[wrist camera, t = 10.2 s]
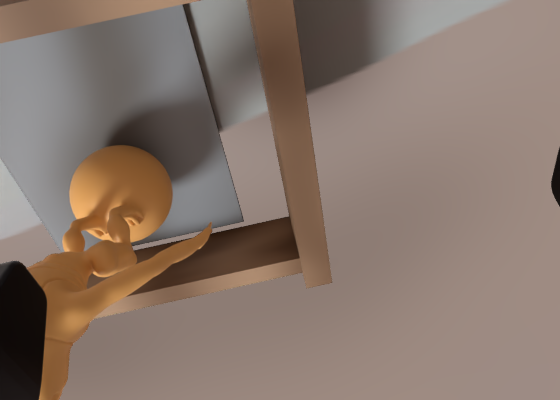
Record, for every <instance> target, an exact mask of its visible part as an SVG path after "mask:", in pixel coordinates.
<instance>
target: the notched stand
mask: <svg viewBox="0 0 560 400" xmlns="http://www.w3.org/2000/svg"><path fill="white" fill-rule="evenodd" d="M196 1H201V0H0V158H1V160H2V161H3V163H4V164H5V166H6V167H7V169H8V171H9V172H10V174H11V175H12V177H13V178H14V180H15V181H16V183H17V184H18V186H19V187H20V189H21V191H22V192H23V194H24V195H25V197H26V198H27V200H28V201H29V203H30V204H31V206H32V208H33V209H34V211H35V212H36V214H37V215H38V217H39V218H40V220H41V221H42V223H43V225H44V226H45V227H46V229H47V230H48V232H49V234H50V235H51V237H52V238H53V240H54V241H55V243H56V244H57V246H58V248H59V249H60V251H61V252H65V251H64V248H63V243H62V240H63V236H64V234H65V233H66V232H67V231H68V230H69V229H70V225H71V223H72V222H73V221H74V220H77V219H76V217H75V215H74V213H73V211H72V208H71V204H70V197H69V191H70V184H71V180H72V177H73V175H74V173H75V171H76V169H77V168H78V166H79V165H80V164H81V163H82V161H83V160H84V159H86V158H87V157H88V156H89V155H91V154H92V153H94V152H95V151H97V150H100V149H102V148H105V147H109V146H115V145H127V146H133V147H137V148H140V149H142V150H144V151H146V152H148V153H150V154H151V155H153V156H154V157H155V158H156V159H157V160H158V161H159V162H160V163H161V164H162V165H163V166H164V168H165V169H166V171H167V173H168V175H169V177H170V180H171V184H172V190H173V199H172V205H171V209H170V212H169V214H168V216H167V218H166V219H165V221H164V222H163V224H162V225H161V226H160V227H159V228H158V229H157V230H156V231H155V232H154V233H152V234H151V235H149V236H148V237H146V238H144V239H141V240H139V241H135V242H131V245H132V246H135V245H140V244H144V243H149V242H153V241H158V240H162V239H166V238H171V237H176V236H180V235H185V234H189V233H194V232H198V231H203V230H204V229H205V228H206V227H208V225H209V223H210V222H212V226H211V229H212V228H217V227H221V226H225V225H230V224H234V223H239V222H243V221H244V220H243V216H242V213H241V209H240V205H239V202H238V198H237V195H236V191H235V188H234V184H233V180H232V177H231V174H230V170H229V166H228V163H227V159H226V156H225V152H224V149H223V145H222V142H221V139H220V134H219V131H218V127H217V124H216V120H215V117H214V113H213V110H212V106H211V103H210V99H209V95H208V92H207V88H206V85H205V81H204V78H203V74H202V71H201V67H200V64H199V60H198V57H197V53H196V49H195V46H194V42H193V39H192V35H191V32H190V28H189V25H188V21H187V18H186V14H185V10H184V7H183V4H187V3H191V2H196ZM247 5H248V10H249V15H250V20H251V25H252V30H253V35H254V40H255V45H256V50H257V56H258V61H259V66H260V71H261V76H262V81H263V86H264V91H265V96H266V101H267V106H268V111H269V116H270V121H271V126H272V131H273V136H274V141H275V146H276V151H277V156H278V161H279V166H280V171H281V176H282V181H283V186H284V191H285V196H286V201H287V206H288V211H289V217H284V218H280V219H275V220H271V221H266V222H262V223H257V224H253V225H248V226H244V227H239V228H235V229H230V230H226V231H221V232H216V233H212V234H210V236H209V238H208V241H207V242H206V243H205V244H204V245H203V246H202V247H201V249H197V250H196V251H195V252H194V253H193V254H192V255H190V256H189V257H187V258H185V259H183V260H181V261H179V262H176V263H173V264H171V265H170V266H169V267H168V268H167V269H166V270H164V271H163V272H162V273H160V274H159V275H157V276H155V277H153V278H152V279H151V280H149V281H148V282H147V283H145V284H144V285H142V286H141V287H140V288H138V289H137V290H135V291H134V292H132V293H131V294H129V295H128V296H126V297H124V298H123V299H121V300H119V301H117V302H115V303H113V304H112V305H110V306H108V307H107V308H106V309H104V310H103V311H102V312H101V313H99V314H98V315H97V316H96V317H95V318H94V319H96V318H100V317H105V316H109V315H114V314H118V313H123V312H127V311H132V310H136V309H140V308H145V307H150V306H154V305H158V304H163V303H168V302H172V301H176V300H181V299H186V298H190V297H195V296H199V295H204V294H208V293H213V292H217V291H222V290H226V289H230V288H235V287H240V286H244V285H249V284H253V283H257V282H262V281H267V280H271V279H276V278H280V277H284V276H289V275H294V274H298V273H303V276H304V280H305V284H306V288H311V287H315V286H320V285H324V284H329V283H332V278H331V271H330V264H329V256H328V249H327V242H326V235H325V228H324V221H323V213H322V206H321V199H320V192H319V185H318V177H317V170H316V163H315V155H314V148H313V142H312V135H311V127H310V119H309V113H308V105H307V98H306V91H305V83H304V76H303V69H302V62H301V55H300V47H299V40H298V33H297V26H296V19H295V11H294V4H293V0H247ZM81 233H82V235H83V237H84V239H85V247H84V251H86V250H88V248H90V247H91V246H93V245H95V244H96V243H98V242H100V241H102V240H101V239H99V238H97V237H95V236H93V235H92V234H90V233H89V232H88V231H86V230H83V231H81ZM189 239H191V238H189ZM185 240H188V239H185ZM185 240H181V241H176V242H171V243H167V244H162V245H158V246H153V247H149V248H144V249H139V250H135V251H134V253H135V254H136V256H137V262H136V264H138V263H140V262H143V261H146V260H148V259H150V258H152V257H154V256H155V255H156V254H158V253H159V252H161V251H163V250H165V249H167V248H169V247H171V246H173V245H175V244H177V243H180V242H182V241H185ZM136 264H135V265H136ZM120 272H121V271H120ZM118 273H119V272H118ZM116 274H117V273H116ZM114 275H115V274H114ZM112 276H113V275H112ZM109 277H111V276H109ZM109 277H98V276H96V275H94V274H93V273H92V274H91V275H90V276H89V278H88V282H87V289H89V288H91V287H93V286H95V285H96V284H98V283H100V282H102V281H103V280H105V279H107V278H109Z"/></svg>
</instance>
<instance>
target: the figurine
mask: <svg viewBox="0 0 560 400" xmlns="http://www.w3.org/2000/svg"><path fill="white" fill-rule="evenodd" d="M69 197H70V204H71V208H72V211H73V213H74V215H75V217H76V219H77V220H74V221H73V222H72V223H71V225H70V229H69V230H68V231H67V232H66V233H65V234H64V236H63V240H62V243H63V248H64V251H65V252H62V253H60V254H51V255H49V256H47V257H46V258H45V259H44V260H43V261H40V262H38V263H36V264H34V265H33V266H30V267H27V269H28V271H29V272H30V273H31V275H32V276H33V277H34V278H35V280H36V281H37V282H38V284H39V285H40V286H41V287H42V289H43V290H44V292H45V294H46V297H47V318H46V331H45V345H44V358H43V372H42V382H41V390H40V396H39V400H59V398H60V396H61V393H62V389H63V387H64V386H65V384H66V382H67V379H68V367H69V353H70V349H71V347H72V345H73V343H74V342H76V341H77V340H78V339H79V338H80V337H81V336H82V335H83V334H84V333H85V332H86V330H87V328H88V326H89V323H90V321H92V320H93V319H94V318H95V317H96V316H97V315H98V314H99V313H101V312H102V311H103V310H104V309H106V308H107V307H108V306H110V305H112V304H113V303H115V302H117V301H119V300H121V299H123V298H124V297H126V296H128V295H129V294H131V293H132V292H134V291H135V290H137V289H138V288H140V287H141V286H142V285H144V284H145V283H147V282H148V281H149V280H151V279H152V278H153V277H155V276H157V275H159V274H160V273H162V272H163V271H164V270H166V269H167V268H168V267H169V266H170V265H171V264H173V263H176V262H179V261H181V260H183V259H185V258H187V257H189V256H190V255H192V254H193V253H194V252H195V251H196V250H197V249H201V247H202V246H203V245H204V244H205V243H206V242H207V241H208V238H209V236H210V234H211V233H212V229H211V226H212V222H210V223H209V225H208V227H206V228H205V229H204V230H203V231H202V232H201V233H200V234H198V235H197V236H195V237H194V238H191V239H188V240H185V241H182V242H180V243H177V244H175V245H173V246H171V247H169V248H167V249H165V250H163V251H161V252H159V253H158V254H156V255H155V256H154V257H152V258H150V259H148V260H146V261H143V262H140V263H138V264H136V262H137V256H136V254H135V253H134V251H133V248H132V245H131V242H135V241H139V240H141V239H144V238H146V237H148V236H149V235H151V234H152V233H154V232H155V231H156V230H157V229H158V228H159V227H160V226H161V225H162V224H163V222H164V221H165V219H166V218H167V216H168V214H169V212H170V209H171V205H172V199H173V190H172V184H171V180H170V177H169V175H168V173H167V171H166V169H165V168H164V166H163V165H162V164H161V163H160V162H159V161H158V160H157V159H156V158H155V157H154V156H153V155H151V154H150V153H148V152H146V151H144V150H142V149H140V148H137V147H133V146H127V145H115V146H109V147H105V148H102V149H100V150H97V151H95V152H94V153H92V154H91V155H89V156H88V157H87V158H86V159H84V160H83V161H82V163H81V164H80V165H79V166H78V168H77V169H76V171H75V173H74V175H73V177H72V180H71V184H70V191H69ZM83 230H86V231H88V232H89V233H90V234H92V235H93V236H95V237H97V238H99V239H101V240H102V241H100V242H98V243H96V244H95V245H93V246H91V247H90V248H88V250H86V251H84V247H85V239H84V237H83V235H82V233H81V231H83ZM135 264H136V265H135ZM120 271H121V272H120ZM118 272H119V273H118ZM92 273H93V274H94V275H96V276H98V277H109V276H111V277H109V278H107V279H105V280H103V281H102V282H100V283H98V284H96V285H95V286H93V287H91V288H89V289H87V282H88V278H89V276H90V275H91V274H92ZM116 273H117V274H116ZM114 274H115V275H114ZM112 275H113V276H112Z"/></svg>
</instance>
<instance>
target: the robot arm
mask: <svg viewBox="0 0 560 400" xmlns="http://www.w3.org/2000/svg"><path fill="white" fill-rule="evenodd" d="M551 187H552V192H553V195H554V197H555V199H556V201H557V203H558V205H559V206H560V148H559V152H558V155H557V160H556V164H555V168H554V172H553V176H552V181H551ZM46 318H47V297H46V294H45V292H44V290H43V289H42V287H41V286H40V285H39V284H38V282H37V281H36V280H35V278H34V277H33V276H32V275H31V273H30V272H29V271H28V269H27V268H26V267H25V266H24V265H23V264H22V263H20V262H19V261H11V262H6V263H2V264H0V400H39V396H40V390H41V382H42V372H43V358H44V345H45V331H46Z"/></svg>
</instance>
